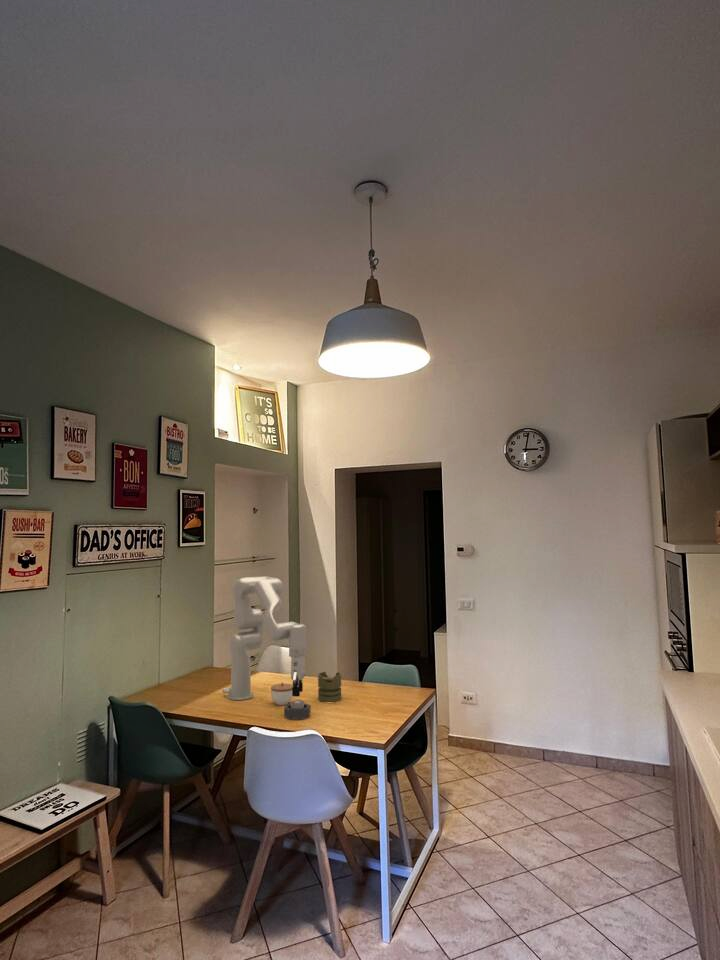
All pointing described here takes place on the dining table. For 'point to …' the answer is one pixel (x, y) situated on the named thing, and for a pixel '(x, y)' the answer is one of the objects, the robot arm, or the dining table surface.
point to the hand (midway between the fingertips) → (297, 693)
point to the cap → (297, 704)
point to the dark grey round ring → (297, 712)
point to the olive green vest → (329, 687)
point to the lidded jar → (281, 693)
